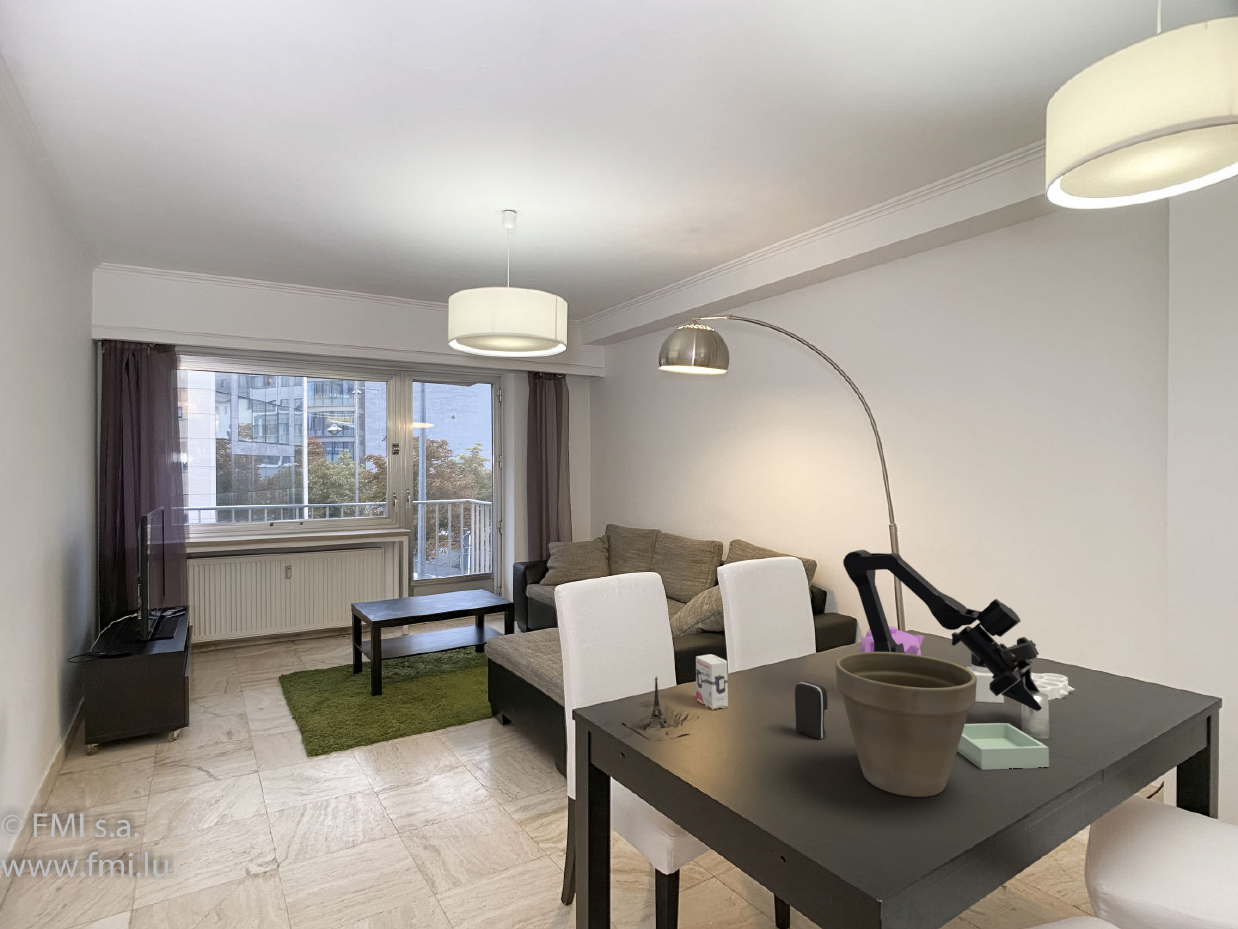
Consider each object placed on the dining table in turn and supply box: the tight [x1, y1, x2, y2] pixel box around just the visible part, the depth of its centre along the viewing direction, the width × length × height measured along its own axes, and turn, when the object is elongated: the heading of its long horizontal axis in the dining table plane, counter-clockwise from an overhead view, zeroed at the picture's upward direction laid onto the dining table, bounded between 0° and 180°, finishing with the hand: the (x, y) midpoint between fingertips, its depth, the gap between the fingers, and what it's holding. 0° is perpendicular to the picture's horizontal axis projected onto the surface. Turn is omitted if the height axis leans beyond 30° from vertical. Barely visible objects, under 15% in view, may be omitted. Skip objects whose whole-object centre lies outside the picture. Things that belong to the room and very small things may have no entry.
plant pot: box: [835, 651, 977, 798], centre depth 133 cm, size 25×25×22 cm
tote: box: [957, 722, 1050, 771], centre depth 144 cm, size 14×14×4 cm
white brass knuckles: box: [1031, 672, 1076, 701], centre depth 186 cm, size 3×18×15 cm
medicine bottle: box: [965, 652, 1005, 704], centre depth 180 cm, size 7×7×12 cm
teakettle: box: [860, 626, 925, 656], centre depth 209 cm, size 17×17×12 cm
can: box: [1020, 691, 1050, 740], centre depth 155 cm, size 5×5×9 cm
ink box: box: [695, 654, 729, 708], centre depth 178 cm, size 8×5×12 cm, turn 23°
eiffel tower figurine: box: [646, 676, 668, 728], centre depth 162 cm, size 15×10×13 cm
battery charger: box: [794, 681, 829, 740], centre depth 157 cm, size 7×4×11 cm, turn 38°
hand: (1042, 706), depth 154 cm, fingers closed on can, 5 cm apart
